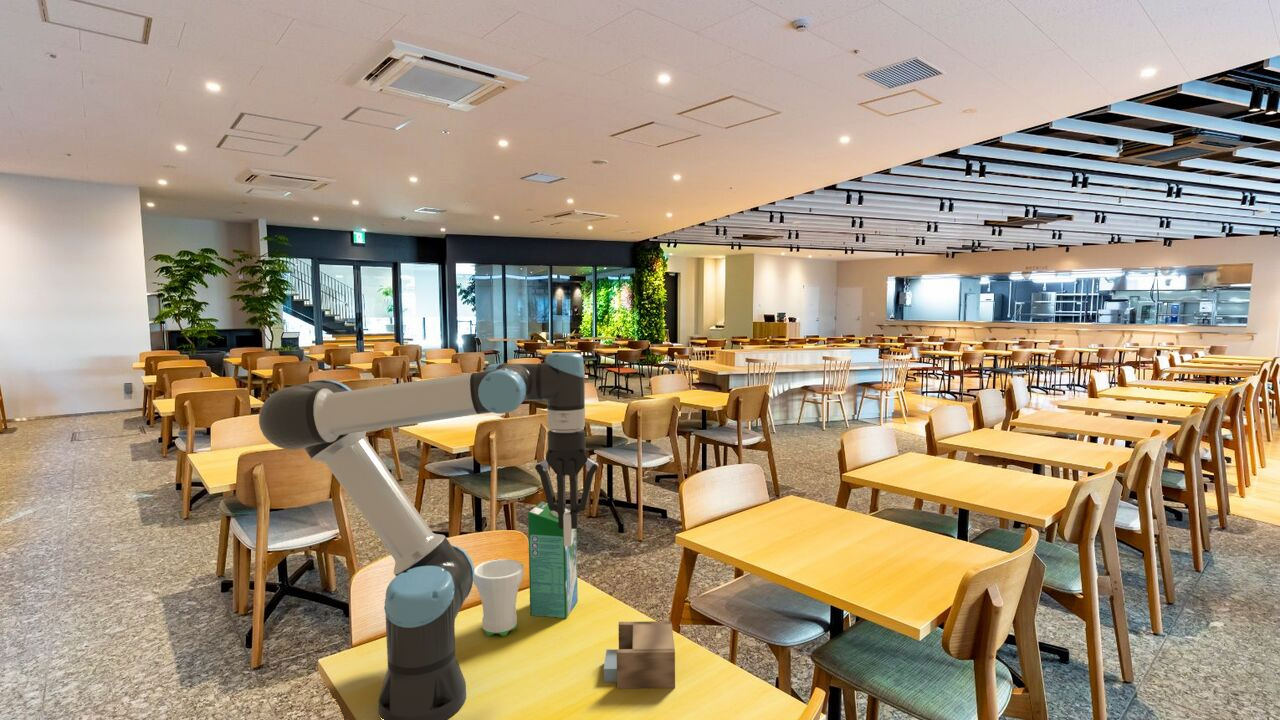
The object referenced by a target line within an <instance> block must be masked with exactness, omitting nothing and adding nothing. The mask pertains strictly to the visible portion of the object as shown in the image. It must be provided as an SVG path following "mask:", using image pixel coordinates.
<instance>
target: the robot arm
mask: <svg viewBox="0 0 1280 720" xmlns="http://www.w3.org/2000/svg"><path fill="white" fill-rule="evenodd" d="M584 364H585V363H584V357H583V355H581V354H580V353H578V352H550V353H547V354H546V358H545V362H541V363H540V362H539V363H506V362H503V363H496V364H495V363H493V364H491V363H490V364H489V365H487V366H486V368H485V371H478V372H474V373H465V374H458V375H449V376H443V377H437V378H436V377H435V378H430V379H424V380H423V379H421V380H415V381H409V382H407V381H406V382H401V383H392V384H387V385H381V386H379V385H378V386H372V387H368V388H367V387H366V388H365V387H364V388H360V389H359V388H358V389H353V390H352V388H350V387H349V386H348V385H346V384H344V383H341V382H339V381H336V380H329V379H328V380H327V379H326V380H325V379H317V380H312V381H308V382H307V383H306V382H305V383H302V384H298V385H293V386H288V387H284V388H281V389H279V390H277V391H275V392H273V393H272V394H271V395H270V396H268V398H266V400H265V401H264V402H263V404H262V406H261V407H260V411H259V415H258V424H259V428H260V432H261V433H262V435H263V437H265V439H266V440H267V441H268V442H270V444H273V445H274V446H276V447H278V448H280V449H284V450H291V451H295V450H301V449H304V451H305V452H306V454H307V455H308V456H309V457H310V459H311V460H312V461H315V462H321V463H324V464H325V465H326V466H327V468H328V469H329V471H330V472H331V474H332V475H333V476H334V477H335V479H336V480H337V482H338V483H339V485H340V486H341V487H342V489H343V490H344V491H345V493H346V495H347V496H349V498H350V500H351V501H352V502H353V504H354V505H355V506H356V508H357V509H358V511H359V512H360V513H361V515H362V517H363V518H364V519H365V520H366V522H367V523H368V525H369V527H370V528H371V529H372V531H373V532H374V533H375V534H376V536H377V537H378V539H379V540H380V541H381V543H382V544H383V546H384V547H385V548H386V550H387V551H388V552H389V554H390V555H391V557H392V558H393V560H394V563H395V564H394V568H393V575H394V576H395V577H394V578H393V579H391V580H390V582H389V584H388V585H387V587H386V590H385V599H384V613H385V631H386V655H387V670H386V673H385V676H384V680H383V683H382V687H381V690H380V693H379V696H378V716H379V715H380V717H381V718H382V719H384V720H448V719H449V718H451V717H452V716H454V715H455V714H456V713H457V712H458V711H460V709H461V708H462V707H463V706H464V704H465V702H466V699H467V683H466V679H465V677H464V675H463V672H462V669H461V666H460V664H459V662H458V659H457V656H456V639H455V638H456V637H455V636H456V633H455V631H456V630H455V628H456V627H455V622H456V618H457V617H458V614H459V612H460V611H461V609H462V607H463V604H464V603H465V601H466V599H467V597H468V596H469V595H470V593H471V591H472V588H473V584H474V581H473V580H474V568H475V567H474V563H473V560H472V558H471V557H470V555H469V554H468V553H467V552H466V551H465V550H464V549H463V548H461V547H459V546H455V545H452V544H451V542H450V541H449V540H448V538H447V537H446V536H445V535H444V534H440V533H439V534H438V533H434V532H433V531H432V530H431V528H430V526H429V525H428V524H427V522H426V521H425V520H424V518H423V517H422V515H421V514H420V513H419V511H418V510H417V509H416V507H415V505H414V504H413V502H412V501H411V500H410V498H409V497H408V496H407V494H406V493H405V492H404V490H403V488H402V487H401V485H400V484H399V483H398V481H397V480H396V478H395V477H394V476H393V474H392V472H390V470H389V469H388V467H387V465H385V463H384V462H383V460H382V459H381V457H380V456H379V454H378V453H377V452H376V451H375V449H374V448H373V446H372V445H371V444H370V442H369V441H368V439H367V437H366V436H367V435H366V434H367V432H368V431H376V430H381V429H389V428H395V427H400V426H401V427H402V426H409V425H415V424H423V423H429V422H435V421H443V420H448V419H455V418H462V417H469V416H475V415H483V414H485V415H486V414H492V413H494V414H499V415H501V414H507V413H510V412H513V411H515V410H517V409H518V408H519V407H520V406H521V405H522V403H523V402H529V401H530V402H533V401H534V402H535V401H536V402H537V401H542V402H543V401H546V403H547V405H546V406H547V408H546V410H547V411H546V412H547V413H546V415H547V418H546V419H547V428H548V429H549V431H548V432H547V454H546V456H545V459H544V460H542V461H539V462H538V463H537V464H536V465H535V466H534V469H535V471H536V472H537V473H538V475H539V477H540V479H541V480H540V481H541V484H542V487H543V492H544V494H545V495H544V496H545V499H546V503H548V507H549V510H550V511H556V512H557V513H558V526H559V529H564V546H572V544H573V529H576V528H578V526H579V512H584V511H585V510H586V508H587V506H588V502H589V497H590V492H591V490H592V489H591V488H592V484H593V479H594V474H595V473H596V472H597V470H598V468H599V466H600V465H599V464H600V463H599V462H597V461H593V460H592V459H591V458H589V455H588V453H587V450H586V431H585V429H584V428H585V427H586V407H585V403H586V401H585V398H586V397H585V396H586V395H585V390H586V389H585V387H586V386H585V377H586V376H585V365H584ZM585 465H586V466H585ZM584 466H585V467H586V468H585V470H586V472H587V474H586V477H585V480H584V485H583V490H582V494H581V498H580V503H579V487H578V486H579V484H578V483H579V482H578V479H579V474H580V471H581V470H582V469H583V467H584ZM550 468H551V469H552V471H553V472H554V473H555V474H556V482H557V483H556V489H557V491H556V493H557V499H556V495H555V491H554V487H553V484H552V480H551V476H550V473H549V469H550ZM566 476H569V477H568V478H569V479H568V480H569V495H570V497H569V501H570V503H569V504H570V505H569V510H570V511H565V509H567V506H566V505H567V503H566V502H567V501H566V498H567V497H566ZM380 717H379V718H380Z"/></svg>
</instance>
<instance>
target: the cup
mask: <svg viewBox="0 0 1280 720" xmlns="http://www.w3.org/2000/svg"><path fill="white" fill-rule="evenodd" d="M524 568H525V567H524V564H523V563H522V562H521V561H518V560H514V559H510V558H499V559H492V560H488V561H487V560H486V561H484V562H481V563H480V564H478V565H477V566H476V567H474V580H473V584H474V586H475V587H476V589H477V591H478V594H479V598H480V600H481V604H482V614H483V616H482V623H481V625H482V629H483V630H484V632H485V634H486V635H487V636H488V637H492V636H494V635H495V634H499V635H500V636H501V637H506V636H507V635H508V634H509V632H510V631H515V630H517V625H518V615H517V612H516V610H517V607H516V605H517V597H518V593H519V588H520V586H521V582H522V581H523V578H524V576H525V575H524V574H525V573H524V570H525V569H524Z"/></svg>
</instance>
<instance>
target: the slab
mask: <svg viewBox="0 0 1280 720" xmlns="http://www.w3.org/2000/svg"><path fill="white" fill-rule="evenodd" d="M603 682H604V683H605V682H606V683H608V682H611V683H613V682H614V683H617V649H610V648H609V649H606V650H605V657H604V664H603Z"/></svg>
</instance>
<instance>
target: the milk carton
mask: <svg viewBox="0 0 1280 720" xmlns="http://www.w3.org/2000/svg"><path fill="white" fill-rule="evenodd" d="M565 511H570V509H568V508H566V509H565ZM527 517H528V518H527V519H528V520H527V521H528V523H527V526H528V527H527V528H528V529H527V530H528V533H527V534H528V565H529V566H528V567H529V568H528V569H529V570H528V571H529V572H528V574H529V578H528V579H529V615H530V616H533V615H535V616H534V617H544V616H547V617H546V618H555V617H557V618H556V619H567V618H568V617H569V615H570V614H571V612H572V611H573V609H574V608H575V606H576V605H577V603H578V602H577V601H578V550H577V549H578V544H577V543H578V541H577V536H578V535H577V534H578V533H577V532H578V531H577V528H578V527H577V528H576V529H573V544H572V546H564V529H559V526H558V513H557V512H556V511H550V510H549V507H548V503H547V502H545V501H541V502H539V503H538V504H537V505H536V506H534V507H533V508H532V509H530V511H528V512H527ZM576 602H577V603H576ZM575 604H576V605H575ZM574 605H575V606H574ZM573 607H574V608H573ZM572 608H573V609H572ZM571 610H572V611H571ZM569 613H570V614H569ZM567 616H568V617H567Z"/></svg>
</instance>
